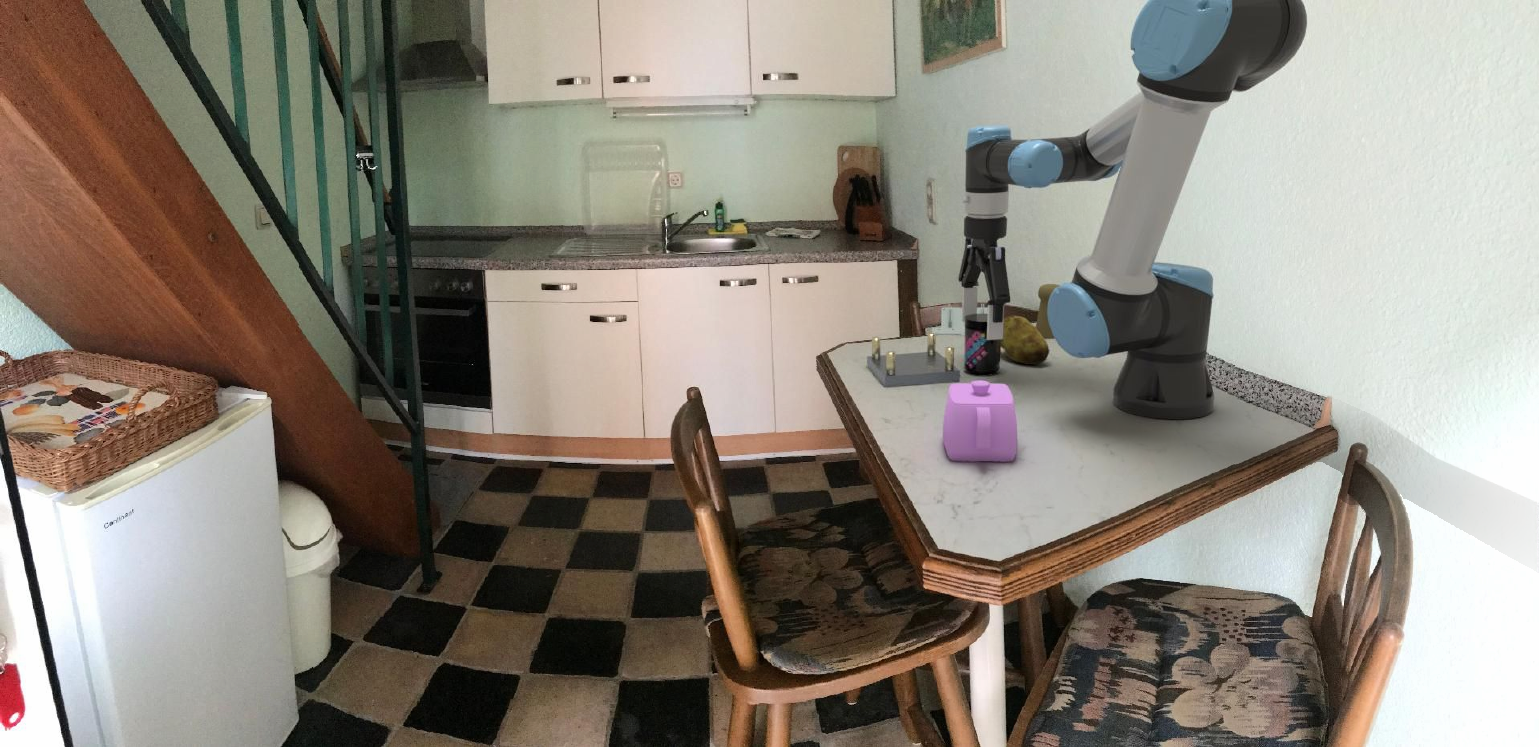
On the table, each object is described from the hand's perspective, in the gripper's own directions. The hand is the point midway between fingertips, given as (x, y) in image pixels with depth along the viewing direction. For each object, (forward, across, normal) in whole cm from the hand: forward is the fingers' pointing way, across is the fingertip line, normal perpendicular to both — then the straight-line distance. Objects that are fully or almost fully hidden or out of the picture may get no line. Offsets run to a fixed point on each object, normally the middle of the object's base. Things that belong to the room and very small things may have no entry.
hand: (981, 329), depth 167 cm
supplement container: (+8, +1, 0) cm, 8 cm away
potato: (+8, -5, +10) cm, 14 cm away
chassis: (+8, -1, -13) cm, 15 cm away
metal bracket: (+9, -32, +9) cm, 35 cm away
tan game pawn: (+8, -21, +23) cm, 33 cm away
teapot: (+8, +38, -14) cm, 41 cm away
